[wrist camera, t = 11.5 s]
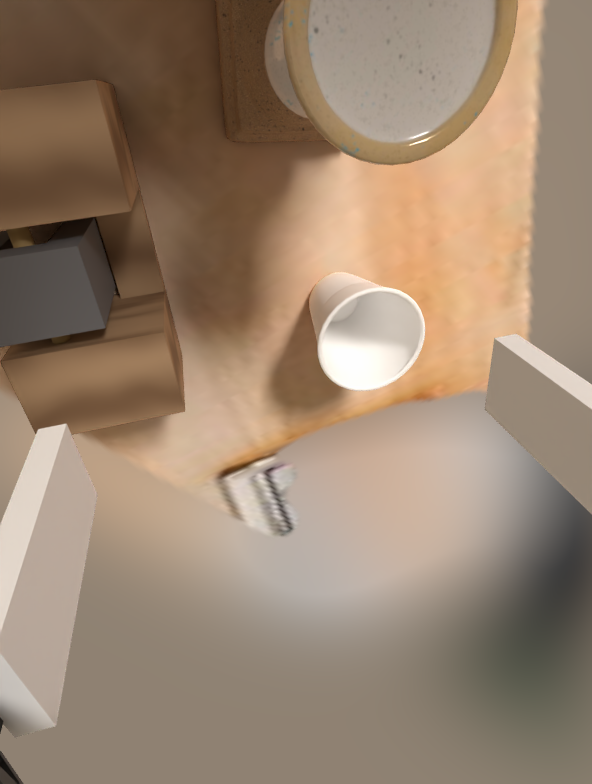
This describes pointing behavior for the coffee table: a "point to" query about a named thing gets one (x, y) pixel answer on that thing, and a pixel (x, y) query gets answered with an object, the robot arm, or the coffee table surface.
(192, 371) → the coffee table surface
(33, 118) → the wooden block dumbbell
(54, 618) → the robot arm
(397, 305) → the cup
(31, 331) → the slotted gray cube
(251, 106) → the candle holder
